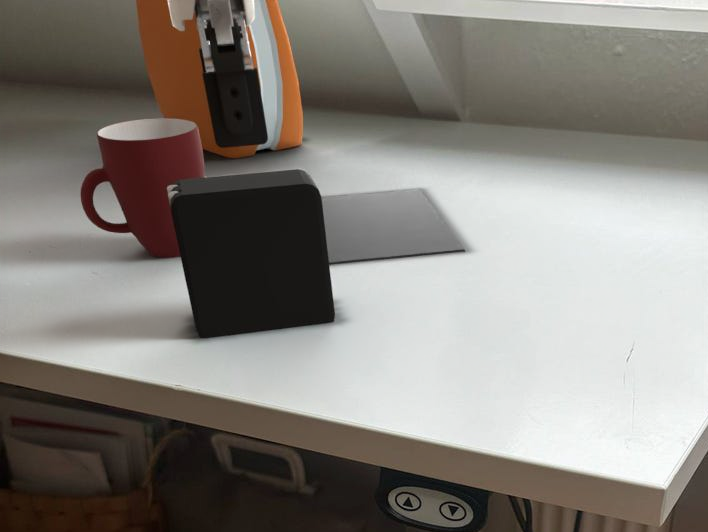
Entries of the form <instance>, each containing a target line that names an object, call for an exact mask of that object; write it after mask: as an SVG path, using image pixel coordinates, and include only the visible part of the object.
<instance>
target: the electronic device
mask: <svg viewBox="0 0 708 532" xmlns="http://www.w3.org/2000/svg"><path fill="white" fill-rule="evenodd" d="M167 191H168V198H169V202H170V209H171V214H172V219H173V224H174V228H175V233H176V238H177V242H178V247H179V252H180V256H181V257H180V261H181V266H182V270H183V275H184V280H185V284H186V288H187V293H188V299H189V304H190V308H191V312H192V317H193V322H194V326H195V331H196V333H197V336H198V338H199V339H204V340H205V339H215V338H221V337H228V336H229V337H230V336H237V335H244V334H245V335H246V334H254V333H262V332H270V331H278V330H286V329H294V328H301V327H309V326H316V325H317V326H318V325H325V324H331V323H334V322H335V319H336V317H335V316H336V312H335V302H334V294H333V286H332V277H331V269H330V267H331V266H330V265H329V258H328V249H327V241H326V232H325V223H324V215H323V206H322V197H323V196H322V195H321V192H320V190H319V188H318V186H317V185H316V183H315V181H314V180H313V178H312V177H311V175H310V174H309V172H307V171H306V170H303V169H298V168H295V169H284V170H274V171H273V170H272V171H262V172H260V171H259V172H251V173H238V174H228V175H227V174H226V175H217V176H205V177H204V178H193V179H181V180H177V181H175V182H173V183H172V184H171V185H170V186H168V187H167Z"/></svg>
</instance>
